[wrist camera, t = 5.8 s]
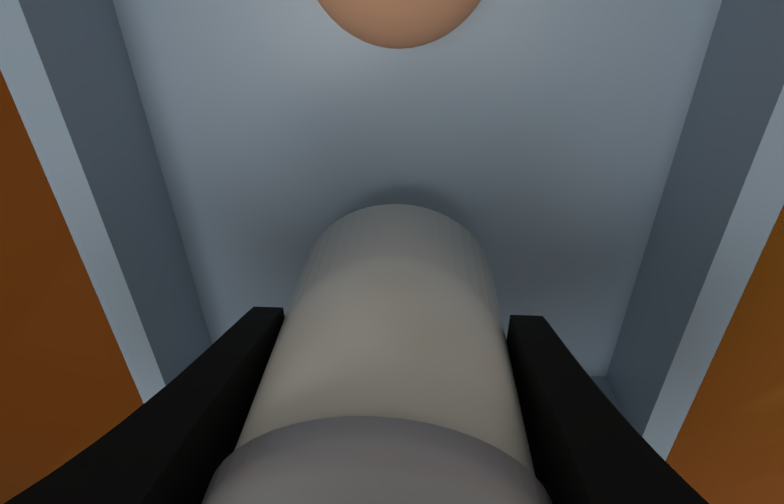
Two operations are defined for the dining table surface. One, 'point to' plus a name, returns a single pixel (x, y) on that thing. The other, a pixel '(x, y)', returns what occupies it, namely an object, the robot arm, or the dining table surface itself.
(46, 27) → the tray
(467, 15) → the ball
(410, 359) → the shaker
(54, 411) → the dining table surface
